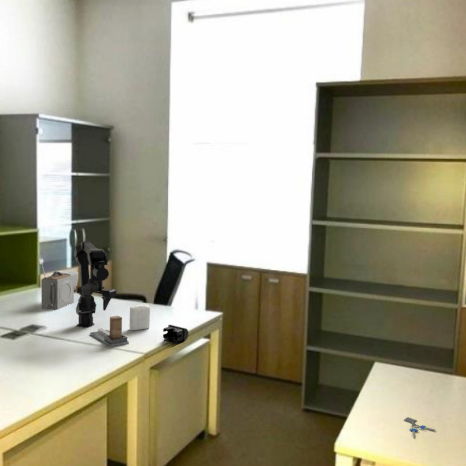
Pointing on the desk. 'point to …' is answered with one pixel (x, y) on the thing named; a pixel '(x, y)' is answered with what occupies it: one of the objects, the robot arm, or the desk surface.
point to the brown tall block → (115, 327)
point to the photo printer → (139, 317)
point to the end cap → (175, 334)
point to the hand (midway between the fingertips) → (96, 309)
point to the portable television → (58, 289)
